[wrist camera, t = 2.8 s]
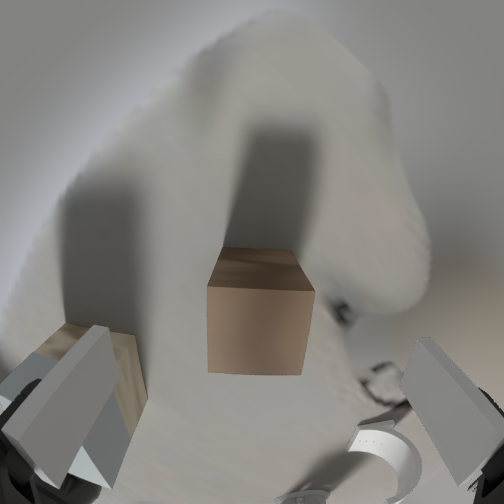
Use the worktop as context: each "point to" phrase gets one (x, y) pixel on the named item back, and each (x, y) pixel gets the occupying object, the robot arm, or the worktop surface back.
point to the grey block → (99, 437)
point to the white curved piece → (390, 454)
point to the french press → (303, 497)
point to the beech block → (128, 363)
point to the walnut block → (258, 313)
